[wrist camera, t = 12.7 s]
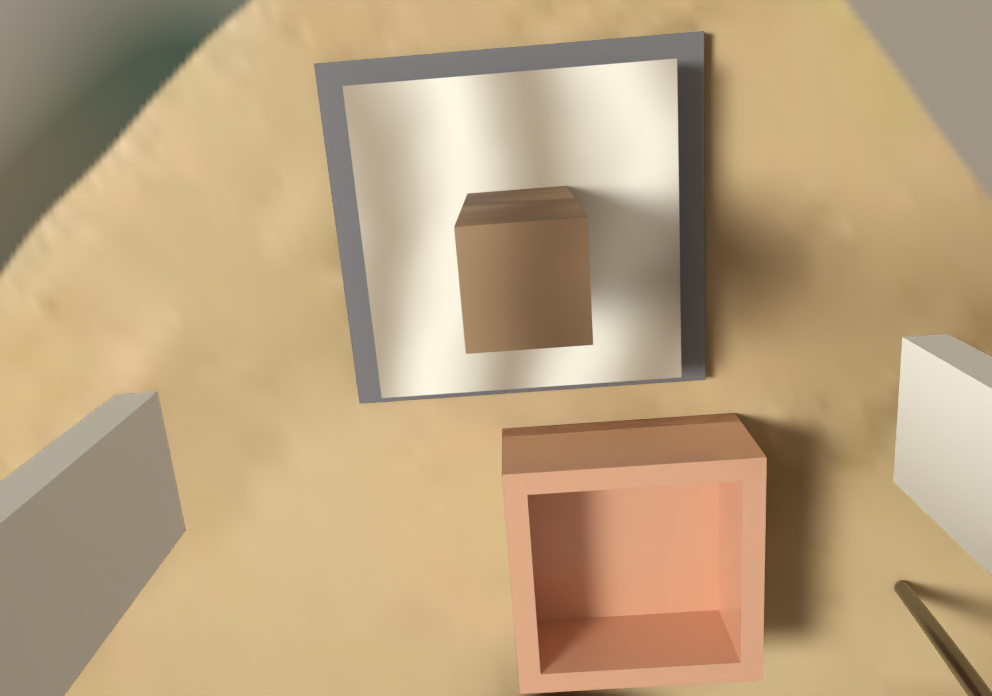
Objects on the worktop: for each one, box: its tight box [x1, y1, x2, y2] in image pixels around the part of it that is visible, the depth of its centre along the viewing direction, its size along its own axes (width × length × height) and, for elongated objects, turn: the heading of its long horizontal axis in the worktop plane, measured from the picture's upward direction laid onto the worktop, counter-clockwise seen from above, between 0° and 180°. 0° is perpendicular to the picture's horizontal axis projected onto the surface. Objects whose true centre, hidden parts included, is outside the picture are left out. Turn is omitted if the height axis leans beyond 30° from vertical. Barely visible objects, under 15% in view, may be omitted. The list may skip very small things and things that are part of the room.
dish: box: [502, 413, 767, 694], centre depth 38 cm, size 11×11×5 cm
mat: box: [314, 31, 706, 403], centre depth 36 cm, size 16×15×1 cm
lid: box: [343, 59, 681, 398], centre depth 31 cm, size 13×13×11 cm
